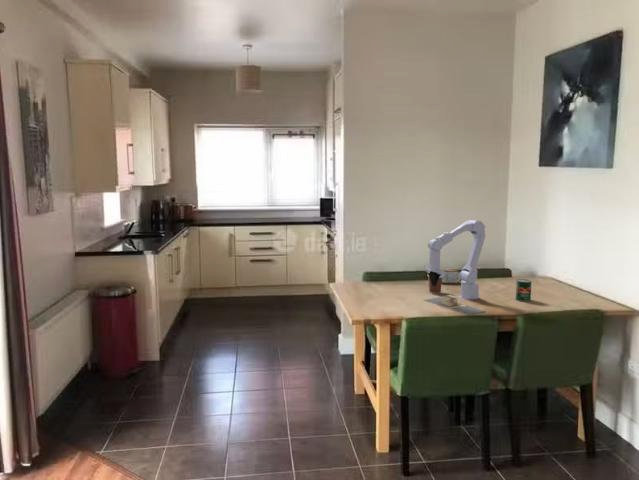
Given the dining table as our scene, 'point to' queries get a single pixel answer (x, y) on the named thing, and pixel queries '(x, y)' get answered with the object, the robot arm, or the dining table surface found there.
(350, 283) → the dining table surface
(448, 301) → the ash block
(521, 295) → the canned tomato
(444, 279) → the tin
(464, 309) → the slide mat
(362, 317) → the dining table surface
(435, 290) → the coffee cup
